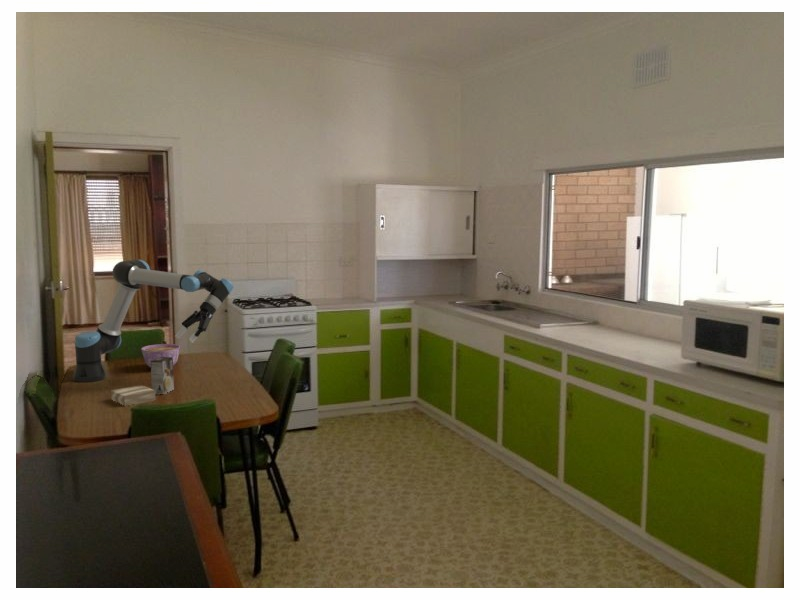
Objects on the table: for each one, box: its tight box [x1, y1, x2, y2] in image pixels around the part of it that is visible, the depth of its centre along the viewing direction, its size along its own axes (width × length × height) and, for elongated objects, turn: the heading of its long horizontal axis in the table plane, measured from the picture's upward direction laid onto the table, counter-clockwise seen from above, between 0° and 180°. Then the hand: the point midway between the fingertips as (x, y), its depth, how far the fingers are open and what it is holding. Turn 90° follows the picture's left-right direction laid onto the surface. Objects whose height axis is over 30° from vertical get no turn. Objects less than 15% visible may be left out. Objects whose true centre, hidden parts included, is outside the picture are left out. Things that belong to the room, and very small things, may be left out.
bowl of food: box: [140, 343, 181, 368], centre depth 365 cm, size 20×20×12 cm
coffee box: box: [150, 357, 175, 395], centre depth 316 cm, size 9×6×16 cm
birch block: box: [110, 384, 157, 407], centre depth 303 cm, size 14×14×5 cm
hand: (183, 339), depth 324 cm, fingers open, 13 cm apart
